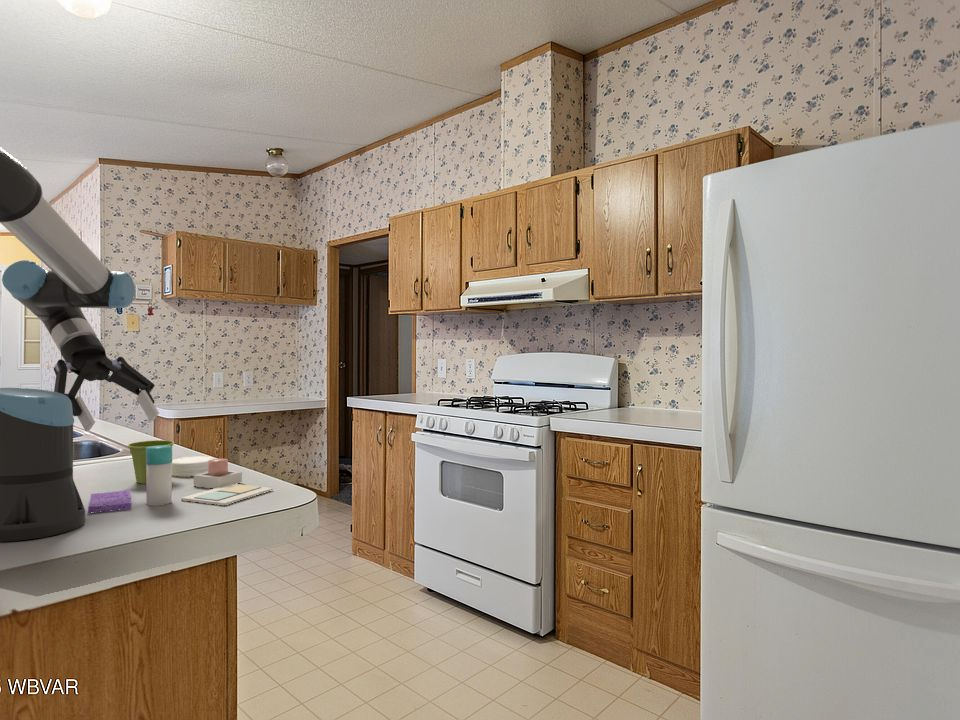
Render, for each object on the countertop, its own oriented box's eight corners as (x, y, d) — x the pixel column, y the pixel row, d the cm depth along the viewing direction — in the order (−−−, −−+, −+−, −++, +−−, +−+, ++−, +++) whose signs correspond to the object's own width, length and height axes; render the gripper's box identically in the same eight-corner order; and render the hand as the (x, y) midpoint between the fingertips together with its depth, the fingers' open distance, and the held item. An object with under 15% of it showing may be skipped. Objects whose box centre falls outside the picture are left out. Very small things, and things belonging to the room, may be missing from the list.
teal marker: (158, 507, 120) (158, 449, 119) (140, 504, 121) (140, 448, 121) (177, 501, 124) (177, 446, 124) (160, 499, 125) (160, 444, 125)
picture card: (224, 506, 120) (224, 502, 120) (181, 500, 124) (181, 497, 124) (272, 490, 134) (272, 487, 134) (232, 486, 137) (232, 483, 137)
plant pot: (160, 486, 137) (160, 446, 137) (118, 485, 137) (118, 446, 137) (182, 477, 147) (182, 440, 146) (142, 476, 147) (142, 440, 147)
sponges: (87, 516, 114) (87, 506, 114) (90, 501, 125) (90, 492, 125) (131, 511, 118) (131, 501, 118) (130, 497, 129) (130, 488, 129)
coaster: (175, 479, 145) (175, 464, 145) (165, 472, 153) (165, 458, 153) (220, 474, 151) (220, 460, 151) (208, 468, 159) (208, 454, 159)
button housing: (218, 489, 134) (218, 477, 134) (193, 486, 137) (193, 475, 137) (241, 483, 141) (241, 472, 141) (217, 480, 143) (217, 469, 143)
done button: (218, 478, 136) (218, 462, 136) (204, 476, 138) (204, 461, 138) (231, 474, 140) (231, 459, 140) (217, 473, 141) (217, 458, 141)
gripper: (127, 353, 146) (170, 424, 140) (6, 359, 124) (51, 443, 118) (141, 332, 143) (186, 403, 137) (20, 333, 121) (67, 418, 115)
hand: (124, 421), depth 128 cm, fingers open, 13 cm apart
